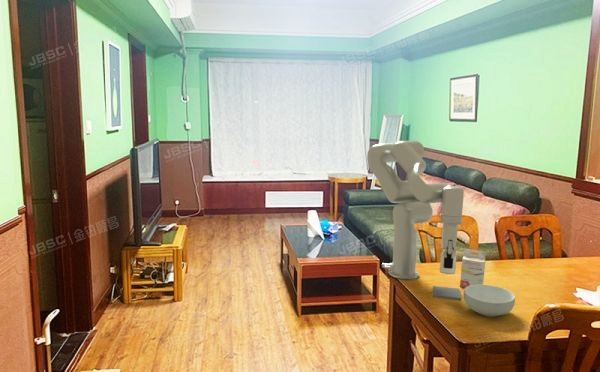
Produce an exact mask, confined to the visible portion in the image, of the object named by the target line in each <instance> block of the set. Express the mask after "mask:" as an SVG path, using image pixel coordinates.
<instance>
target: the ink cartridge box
mask: <svg viewBox="0 0 600 372" xmlns="http://www.w3.org/2000/svg"><path fill="white" fill-rule="evenodd" d="M463 250H464V251H463V257H462V261H461V270H460V283H459V287H460V288H464V289H465V288H466V287H467V286H470V285H484V282H485V281H484V280H485V279H484V278H485V270H486V251H483V250H477V249H468V248H464V249H463ZM474 253H476V254H474Z"/></svg>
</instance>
